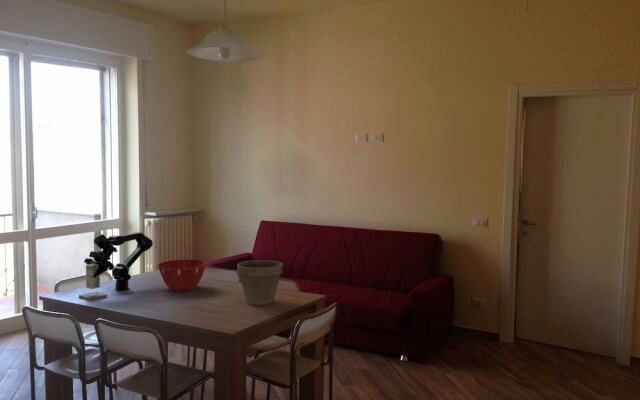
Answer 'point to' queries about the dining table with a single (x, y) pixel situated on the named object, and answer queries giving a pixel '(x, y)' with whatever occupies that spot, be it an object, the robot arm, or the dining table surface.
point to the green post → (92, 276)
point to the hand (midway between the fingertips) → (90, 276)
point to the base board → (93, 296)
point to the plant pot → (259, 280)
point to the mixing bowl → (182, 273)
